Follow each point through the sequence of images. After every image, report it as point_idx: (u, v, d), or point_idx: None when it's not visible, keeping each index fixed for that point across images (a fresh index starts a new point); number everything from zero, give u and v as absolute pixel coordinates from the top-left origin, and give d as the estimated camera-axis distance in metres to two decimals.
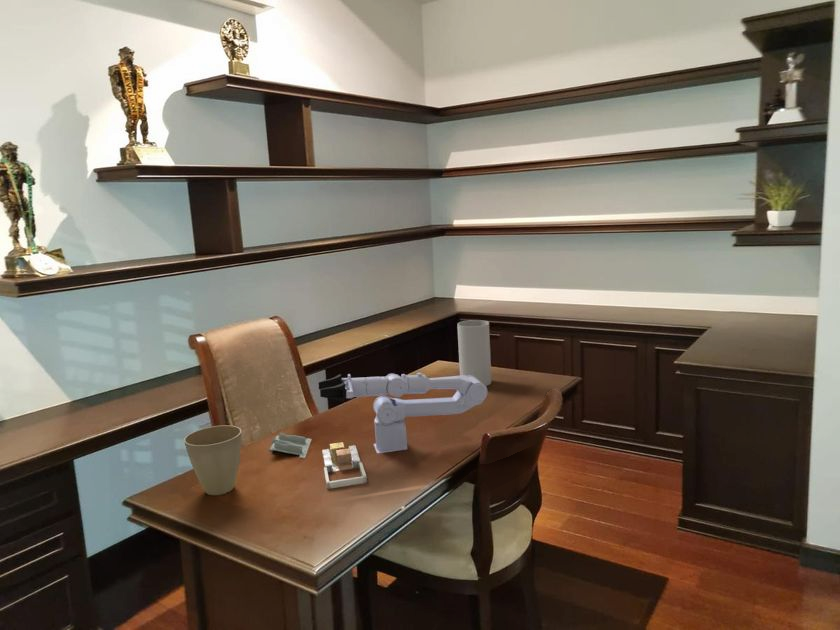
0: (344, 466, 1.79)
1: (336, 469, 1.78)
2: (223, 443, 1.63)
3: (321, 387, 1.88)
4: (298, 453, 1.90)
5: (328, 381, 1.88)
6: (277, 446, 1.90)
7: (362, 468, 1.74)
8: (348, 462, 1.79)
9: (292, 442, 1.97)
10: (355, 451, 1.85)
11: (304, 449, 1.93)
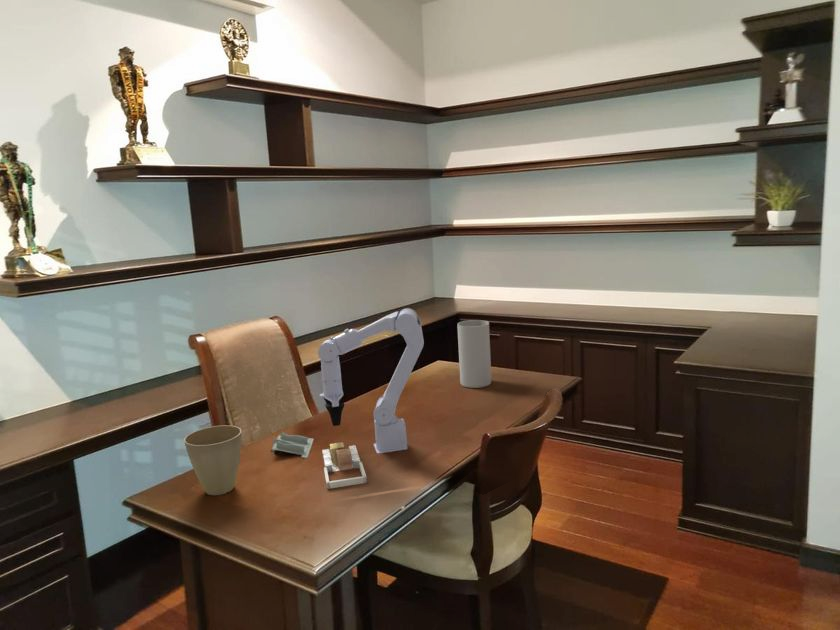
0: (344, 466, 1.79)
1: (336, 469, 1.78)
2: (223, 443, 1.63)
3: None
4: (300, 453, 1.90)
5: None
6: (279, 446, 1.90)
7: (362, 468, 1.74)
8: (348, 462, 1.79)
9: (294, 442, 1.97)
10: (355, 451, 1.85)
11: (306, 449, 1.93)
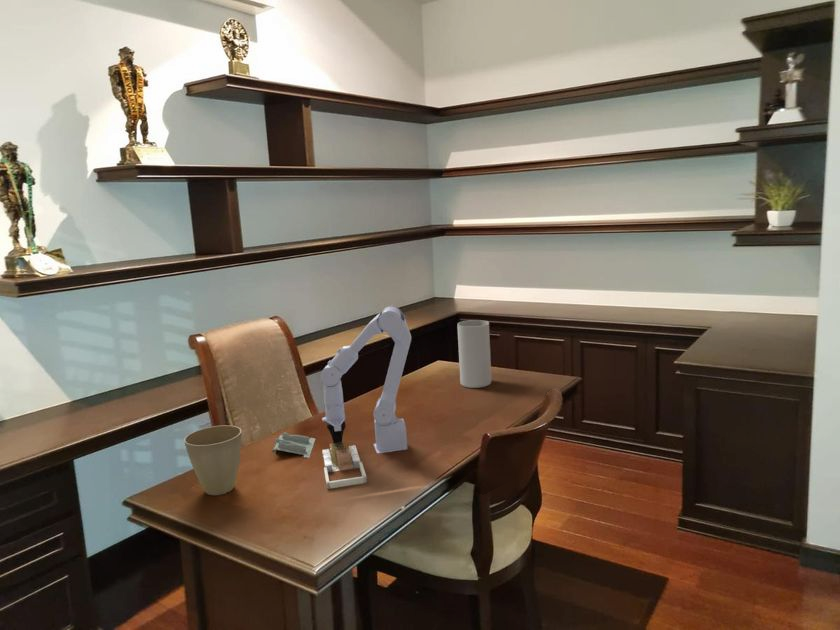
0: (344, 466, 1.79)
1: (336, 469, 1.78)
2: (223, 443, 1.63)
3: None
4: (302, 453, 1.90)
5: None
6: (281, 446, 1.90)
7: (362, 468, 1.74)
8: (348, 462, 1.79)
9: (296, 442, 1.97)
10: (355, 451, 1.85)
11: (308, 449, 1.93)
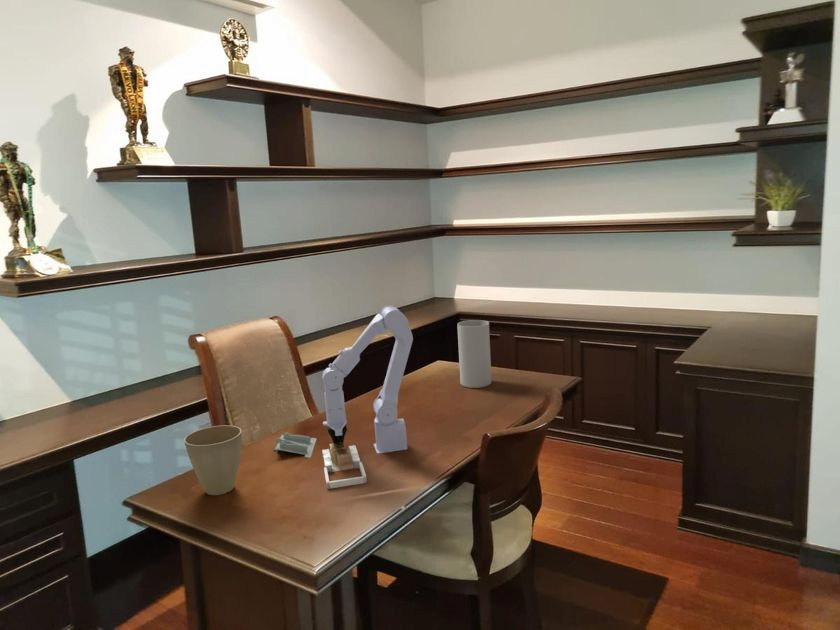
0: (344, 466, 1.79)
1: (336, 469, 1.78)
2: (223, 443, 1.63)
3: None
4: (303, 453, 1.90)
5: None
6: (282, 446, 1.90)
7: (362, 468, 1.74)
8: (348, 462, 1.79)
9: (297, 442, 1.97)
10: (355, 451, 1.85)
11: (309, 449, 1.93)
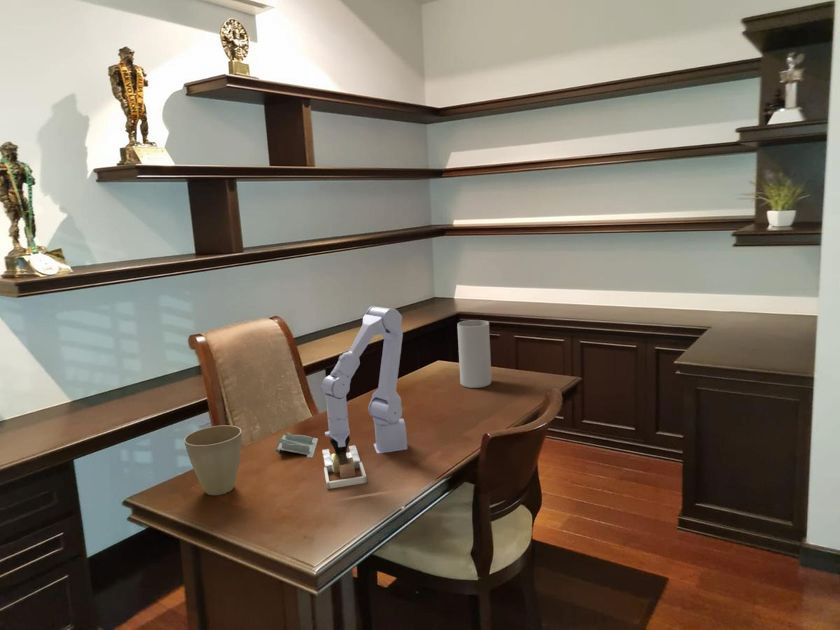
0: (347, 476, 1.73)
1: None
2: (223, 443, 1.63)
3: None
4: (305, 453, 1.90)
5: (336, 452, 1.79)
6: (284, 446, 1.90)
7: (362, 468, 1.74)
8: (351, 472, 1.73)
9: (299, 442, 1.97)
10: (355, 451, 1.85)
11: (311, 449, 1.93)
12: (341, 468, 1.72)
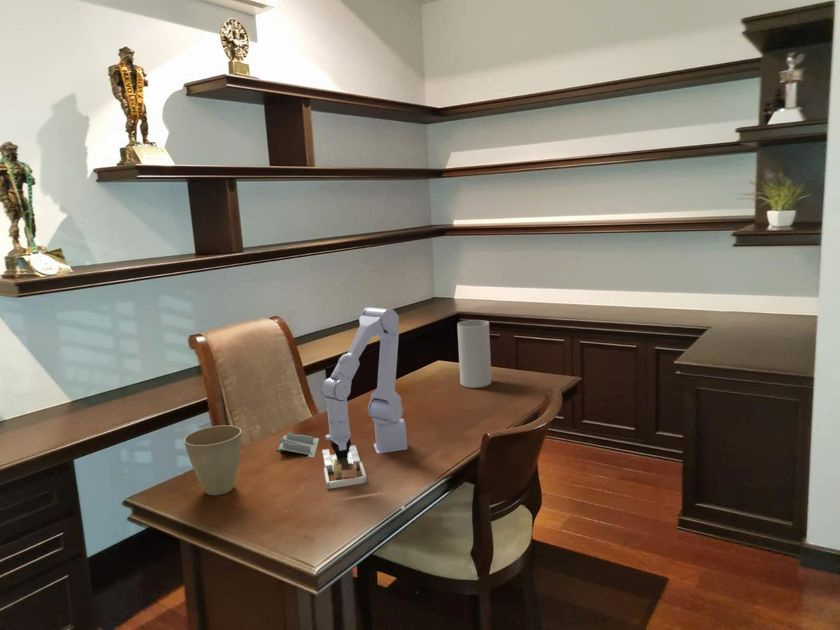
0: None
1: None
2: (223, 443, 1.63)
3: None
4: (307, 453, 1.90)
5: None
6: (285, 446, 1.90)
7: (362, 468, 1.74)
8: None
9: (300, 442, 1.97)
10: (355, 451, 1.85)
11: (312, 449, 1.93)
12: (343, 473, 1.68)
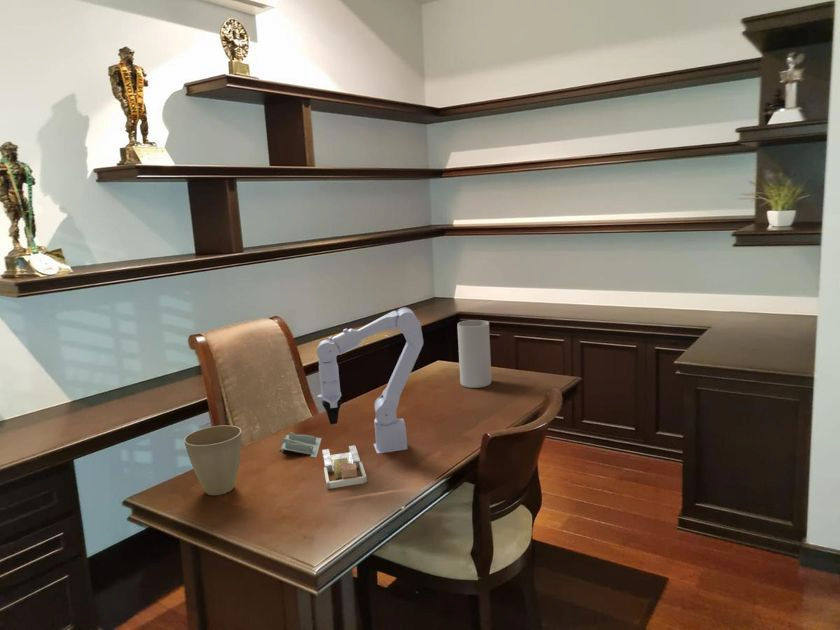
0: None
1: None
2: (223, 443, 1.63)
3: None
4: (309, 452, 1.90)
5: None
6: (288, 446, 1.90)
7: (362, 468, 1.74)
8: None
9: (302, 441, 1.97)
10: (355, 451, 1.85)
11: (315, 448, 1.93)
12: (343, 473, 1.68)
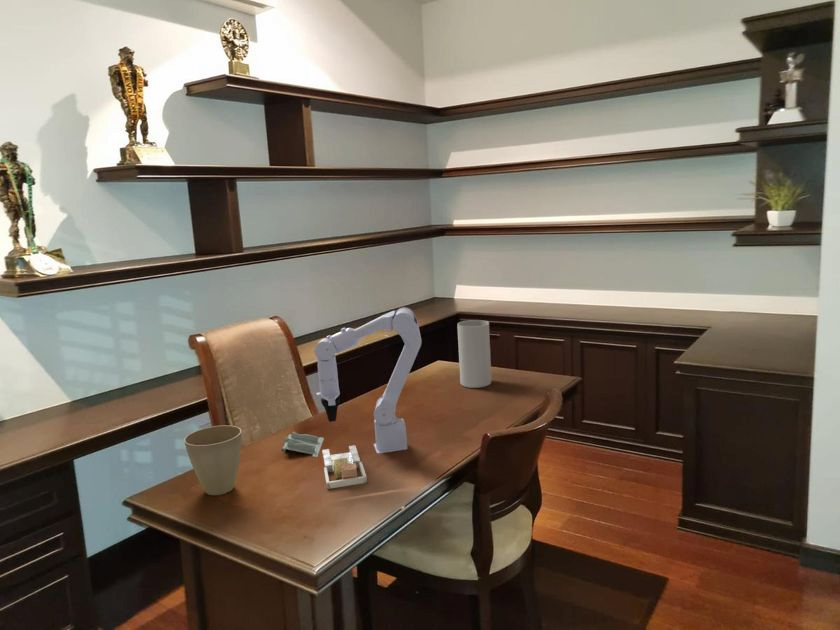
0: None
1: None
2: (223, 443, 1.63)
3: None
4: (311, 452, 1.90)
5: None
6: (290, 445, 1.90)
7: (362, 468, 1.74)
8: None
9: (304, 441, 1.97)
10: (355, 451, 1.85)
11: (317, 448, 1.93)
12: (343, 473, 1.68)
